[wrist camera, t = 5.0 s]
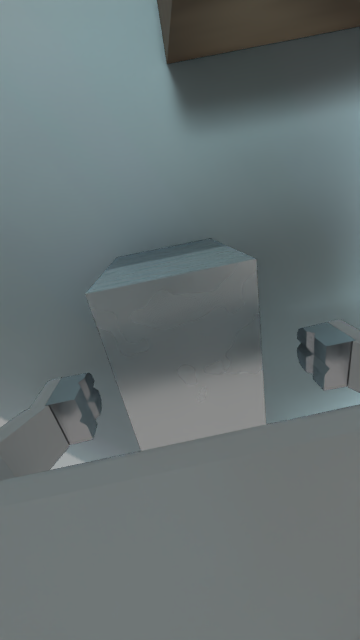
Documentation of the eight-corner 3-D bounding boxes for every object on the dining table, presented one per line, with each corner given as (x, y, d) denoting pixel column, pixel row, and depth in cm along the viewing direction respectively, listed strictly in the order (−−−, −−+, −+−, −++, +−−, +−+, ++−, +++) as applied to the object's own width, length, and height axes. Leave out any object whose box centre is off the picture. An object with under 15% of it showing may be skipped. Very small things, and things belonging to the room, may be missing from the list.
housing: (154, 387, 15) (153, 485, 10) (116, 257, 12) (85, 294, 6) (227, 372, 15) (268, 460, 10) (210, 238, 12) (256, 258, 7)
